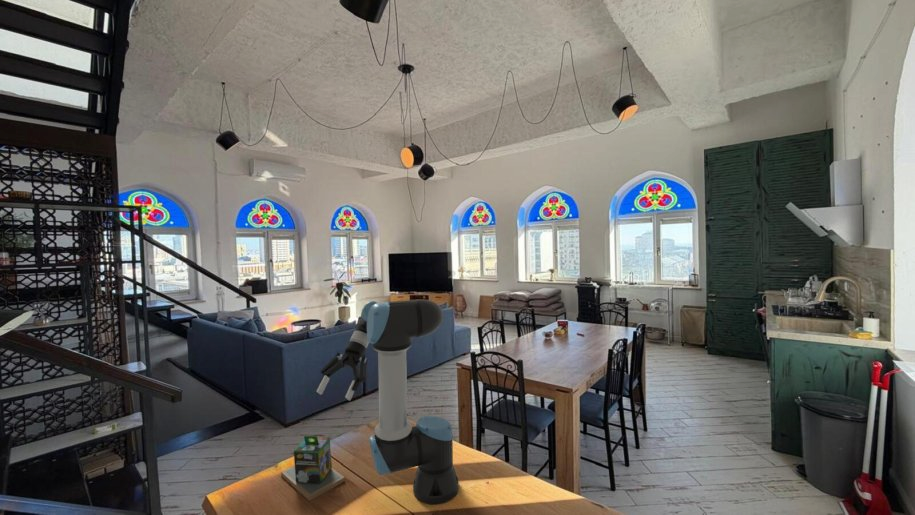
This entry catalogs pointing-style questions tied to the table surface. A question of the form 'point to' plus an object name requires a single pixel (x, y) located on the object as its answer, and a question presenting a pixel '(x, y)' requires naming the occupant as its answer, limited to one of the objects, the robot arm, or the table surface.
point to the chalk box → (312, 459)
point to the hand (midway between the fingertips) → (332, 396)
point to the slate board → (313, 489)
